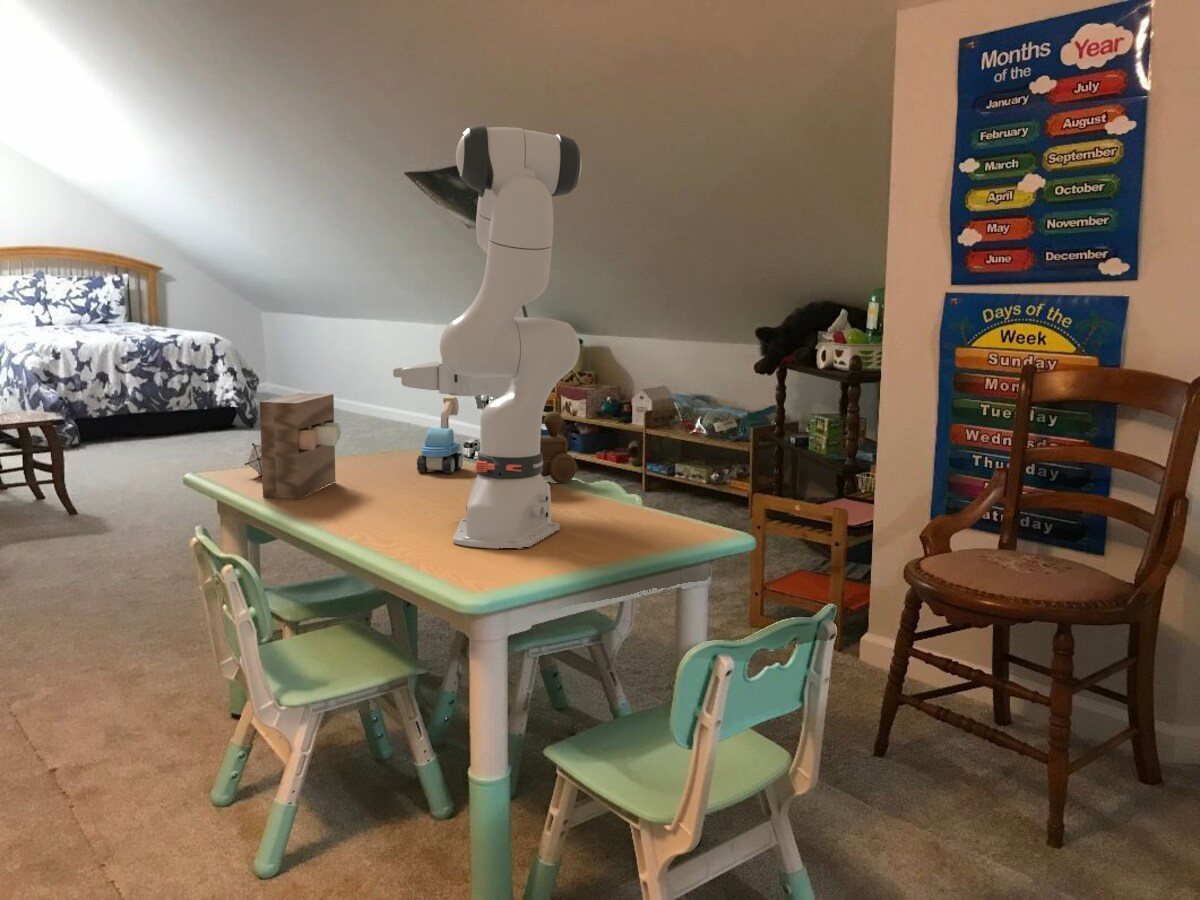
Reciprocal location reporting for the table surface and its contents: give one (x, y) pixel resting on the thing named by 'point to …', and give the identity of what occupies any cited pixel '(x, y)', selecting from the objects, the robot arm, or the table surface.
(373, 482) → the table surface
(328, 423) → the sage button
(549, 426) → the wooden toy train
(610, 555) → the table surface
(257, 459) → the game die
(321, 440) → the cream button
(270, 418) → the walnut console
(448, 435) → the toy excavator
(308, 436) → the terracotta button
